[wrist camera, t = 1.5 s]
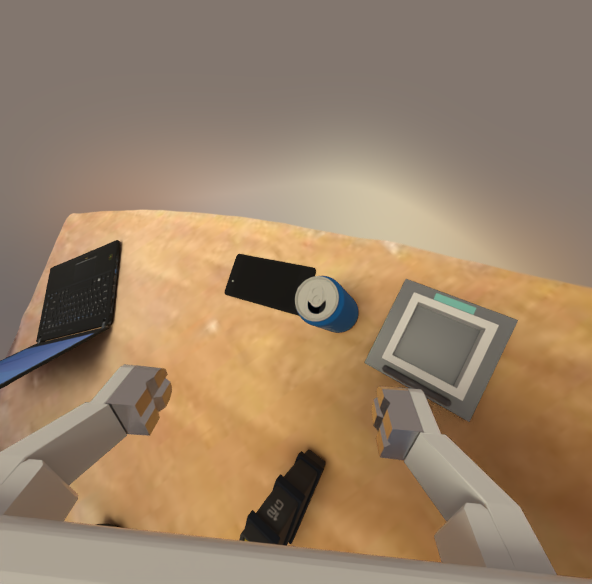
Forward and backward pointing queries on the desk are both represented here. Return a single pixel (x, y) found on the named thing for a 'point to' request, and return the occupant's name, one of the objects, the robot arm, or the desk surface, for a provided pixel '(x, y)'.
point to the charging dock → (441, 346)
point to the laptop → (70, 309)
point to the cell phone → (267, 282)
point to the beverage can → (326, 304)
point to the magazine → (285, 503)
